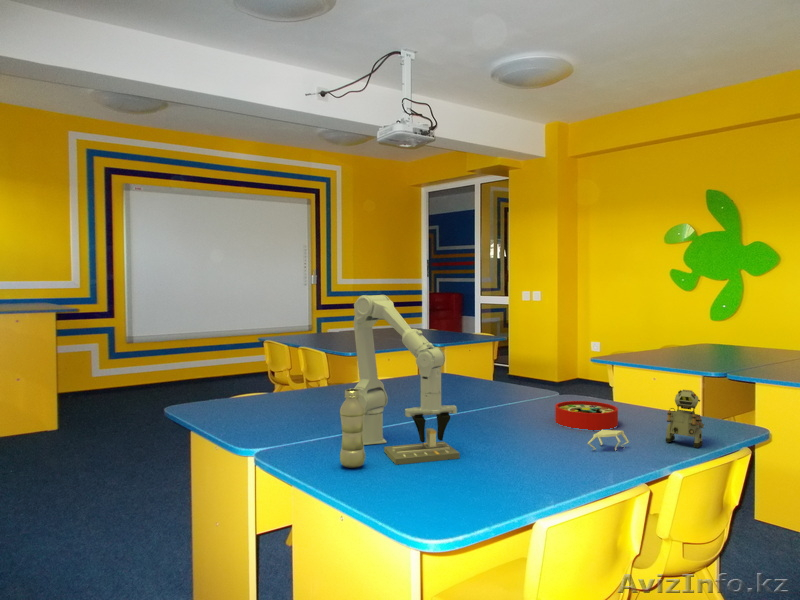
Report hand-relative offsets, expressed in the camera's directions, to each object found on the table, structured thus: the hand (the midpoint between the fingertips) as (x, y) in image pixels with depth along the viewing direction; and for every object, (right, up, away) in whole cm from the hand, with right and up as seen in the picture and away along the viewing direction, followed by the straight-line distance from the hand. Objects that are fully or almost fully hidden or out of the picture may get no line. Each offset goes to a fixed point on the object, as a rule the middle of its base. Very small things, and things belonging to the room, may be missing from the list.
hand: (431, 440), depth 159 cm
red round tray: (+54, -3, +34) cm, 63 cm away
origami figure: (+50, -4, +4) cm, 50 cm away
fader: (0, -2, 0) cm, 2 cm away
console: (-3, -4, -1) cm, 5 cm away
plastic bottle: (-21, -5, -10) cm, 24 cm away
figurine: (+75, -3, +9) cm, 76 cm away
